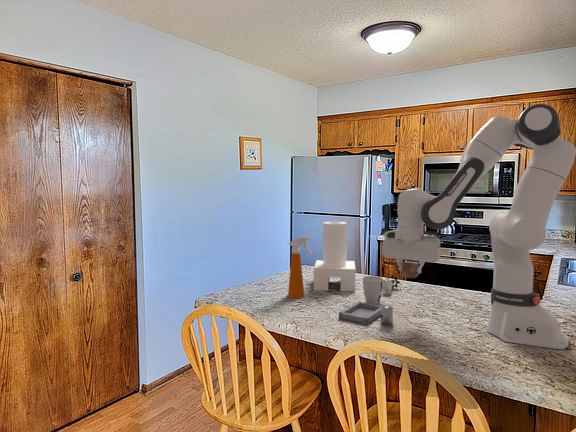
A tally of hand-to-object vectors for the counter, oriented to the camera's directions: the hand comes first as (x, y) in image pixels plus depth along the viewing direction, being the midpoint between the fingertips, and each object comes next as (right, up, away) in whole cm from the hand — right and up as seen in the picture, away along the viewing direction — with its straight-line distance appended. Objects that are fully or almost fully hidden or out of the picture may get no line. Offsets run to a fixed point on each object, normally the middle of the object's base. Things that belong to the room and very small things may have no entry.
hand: (410, 272), depth 142 cm
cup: (-9, -15, +19) cm, 26 cm away
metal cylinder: (-10, -17, -5) cm, 20 cm away
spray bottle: (-39, -15, +28) cm, 50 cm away
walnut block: (0, -2, 0) cm, 2 cm away
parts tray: (-16, -17, +4) cm, 24 cm away
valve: (+2, -14, +35) cm, 38 cm away
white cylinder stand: (-22, -13, +47) cm, 53 cm away
